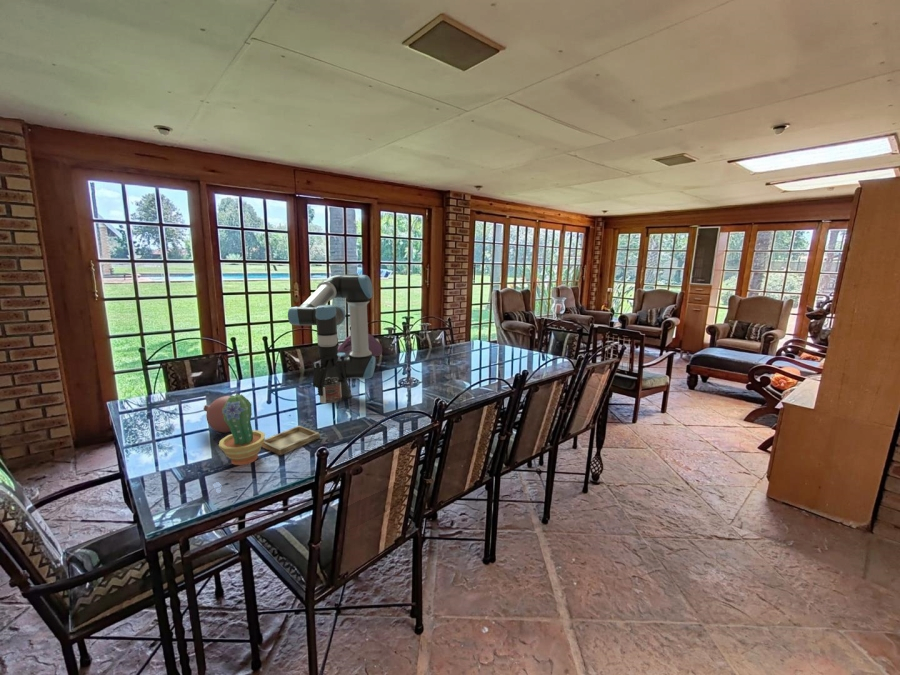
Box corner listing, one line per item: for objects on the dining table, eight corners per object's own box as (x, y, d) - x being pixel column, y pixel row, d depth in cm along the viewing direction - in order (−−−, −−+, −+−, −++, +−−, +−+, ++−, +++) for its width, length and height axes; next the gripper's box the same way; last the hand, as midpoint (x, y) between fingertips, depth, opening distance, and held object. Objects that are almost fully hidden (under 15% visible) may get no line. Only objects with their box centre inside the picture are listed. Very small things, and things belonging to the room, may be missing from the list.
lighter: (321, 404, 158) (319, 380, 156) (320, 401, 161) (318, 377, 159) (342, 401, 162) (340, 377, 160) (340, 398, 165) (339, 375, 163)
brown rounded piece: (224, 419, 183) (220, 387, 180) (257, 426, 176) (254, 393, 172) (192, 433, 169) (187, 398, 166) (226, 441, 162) (222, 405, 158)
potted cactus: (210, 465, 144) (202, 399, 139) (246, 446, 158) (239, 386, 153) (243, 473, 138) (235, 405, 133) (276, 453, 152) (271, 391, 147)
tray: (299, 430, 172) (299, 425, 172) (319, 437, 165) (319, 432, 165) (260, 446, 158) (260, 441, 157) (280, 455, 151) (279, 450, 150)
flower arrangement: (350, 387, 243) (352, 345, 233) (319, 375, 251) (320, 334, 241) (381, 367, 274) (385, 329, 264) (353, 357, 282) (355, 319, 271)
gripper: (341, 339, 167) (343, 391, 172) (299, 348, 150) (303, 405, 155) (353, 341, 163) (356, 394, 168) (312, 351, 146) (316, 409, 151)
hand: (331, 399), depth 161 cm, fingers closed on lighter, 7 cm apart
